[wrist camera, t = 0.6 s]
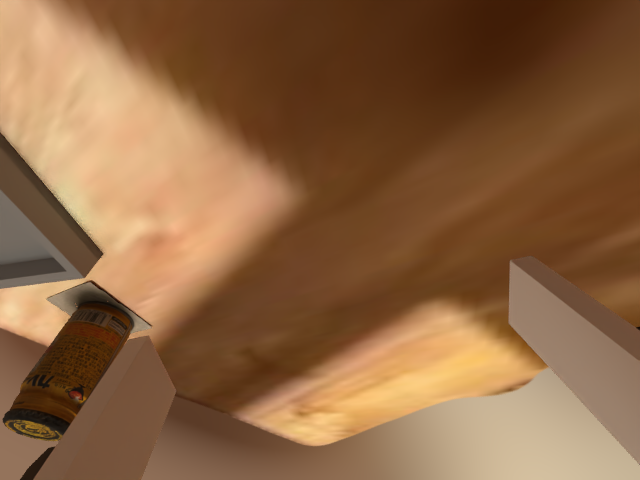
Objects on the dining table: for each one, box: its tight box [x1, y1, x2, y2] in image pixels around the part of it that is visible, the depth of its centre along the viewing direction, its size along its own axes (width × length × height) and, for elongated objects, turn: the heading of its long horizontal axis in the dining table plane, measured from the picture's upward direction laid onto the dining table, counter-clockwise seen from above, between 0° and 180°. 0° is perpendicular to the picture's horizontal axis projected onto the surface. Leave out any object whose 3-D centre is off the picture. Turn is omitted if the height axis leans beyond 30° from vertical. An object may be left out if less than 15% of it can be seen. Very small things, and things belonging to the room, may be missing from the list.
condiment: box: [3, 282, 152, 441], centre depth 34 cm, size 7×8×12 cm
